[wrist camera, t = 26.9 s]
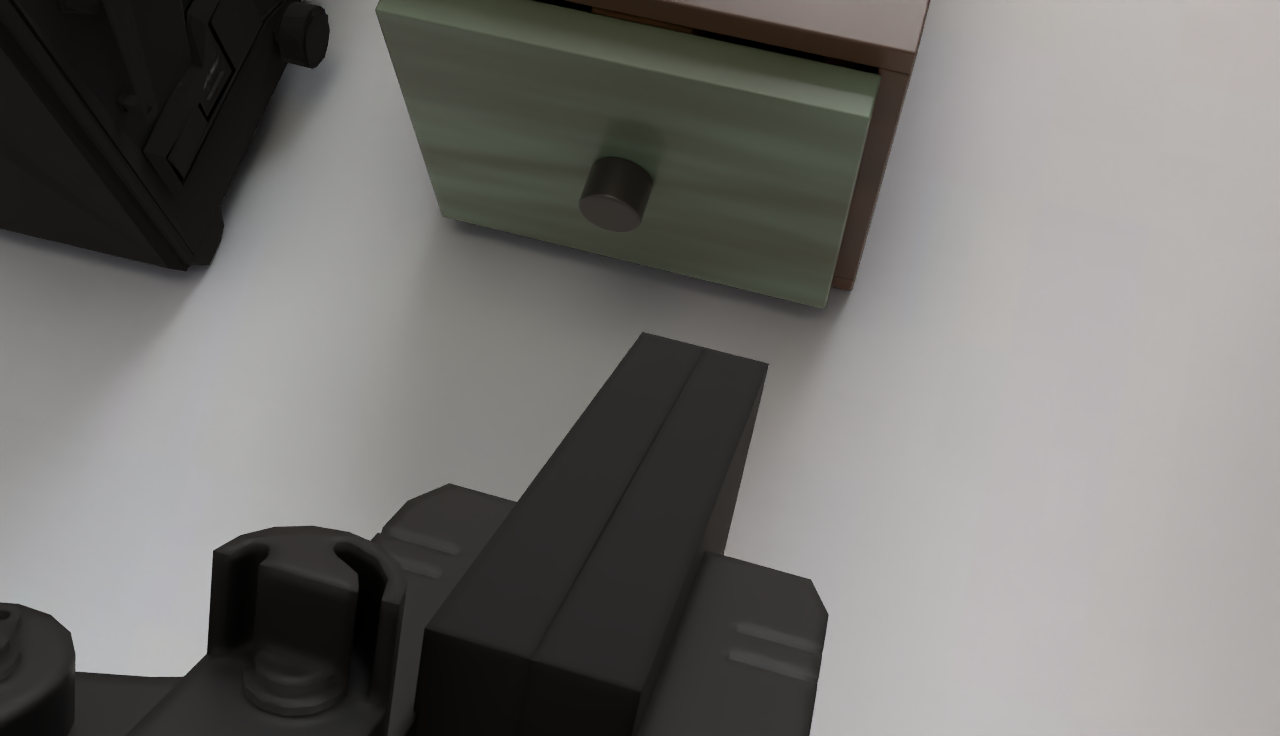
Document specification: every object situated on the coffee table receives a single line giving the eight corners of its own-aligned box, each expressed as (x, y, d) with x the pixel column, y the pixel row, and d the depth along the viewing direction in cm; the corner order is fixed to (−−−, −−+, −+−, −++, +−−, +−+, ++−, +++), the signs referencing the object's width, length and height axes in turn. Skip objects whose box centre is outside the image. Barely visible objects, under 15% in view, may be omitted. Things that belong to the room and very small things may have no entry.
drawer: (814, 348, 33) (858, 165, 25) (427, 251, 35) (354, 51, 27) (906, -5, 38) (966, -250, 30) (563, -75, 40) (535, -325, 32)
